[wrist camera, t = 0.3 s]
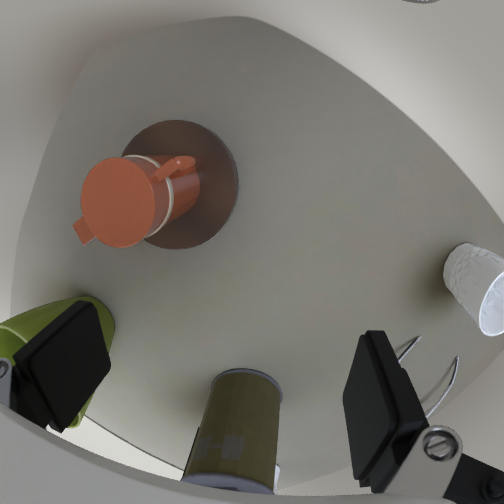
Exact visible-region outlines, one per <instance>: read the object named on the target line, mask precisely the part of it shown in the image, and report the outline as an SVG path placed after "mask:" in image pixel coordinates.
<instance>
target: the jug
mask: <svg viewBox="0 0 504 504" xmlns="http://www.w3.org/2000/svg"><path fill="white" fill-rule="evenodd" d="M203 163H204V159H203V157H201V156H177V155H149V156H143V155H129V156H125V157H115V158H108V159H105V160H103V161H101V162H99V163H98V164H97V165H96V166H94V167H93V168H92V170H91V171H90V172H89V174H88V175H87V177H86V179H85V181H84V184H83V187H82V192H81V208H82V213H83V216H82V217H81V218H80V219H79V220H78V221H77V222H75V223H74V224H73V228H74V230H75V231H76V233H77V235H78V237H79V239H80V240H81V242H82V244H83V245H84V246H85V245H87V244H89V243H91V242H92V241H93V240H95V239H96V238H97V239H99V240H100V241H101V242H103V243H105V244H106V245H109V246H112V247H117V248H125V247H130V246H133V245H135V244H136V243H138V242H140V241H141V240H143V239H144V238H146V237H149V236H151V235H153V234H155V233H156V232H157V231H159V230H160V229H161V228H162V227H163V226H165V225H167V224H168V223H170V222H171V221H173V220H175V219H176V218H178V217H180V216H181V215H183V214H185V213H186V212H188V211H189V210H190V209H191V208H192V207H193V206H194V204H195V203H196V201H197V199H198V196H199V192H200V180H199V176H198V173H197V171H196V169H197V168H199V167H201V166H202V165H203Z"/></svg>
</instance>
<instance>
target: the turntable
mask: <svg viewBox="0 0 504 504" xmlns="http://www.w3.org/2000/svg"><path fill="white" fill-rule="evenodd" d="M129 155H143V156H149V155H177V156H201V157H203V159H204V163H203V165H202V166H201V167H199V168H197V169H196V171H197V173H198V176H199V180H200V192H199V196H198V199H197V201H196V203H195V204H194V206H193V207H192V208H191V209H190V210H189V211H188V212H186V213H185V214H183V215H181V216H180V217H178V218H176V219H175V220H173V221H171V222H170V223H168V224H167V225H165V226H163V227H162V228H161V229H160V230H159V231H157V232H156V233H155V234H153V235H151V236H149V237H146V238H144V240H146V241H147V242H149V243H151V244H153V245H155V246H159V247H162V248H166V249H177V250H178V249H187V248H191V247H195V246H197V245H200V244H202V243H204V242H206V241H207V240H209V239H210V238H211V237H213V236H214V235H215V234H216V233H217V232H218V231H219V230H220V229H221V228H222V227H223V226H224V224H225V223H226V222H227V220H228V219H229V217H230V215H231V213H232V211H233V209H234V206H235V203H236V200H237V195H238V173H237V168H236V165H235V161H234V159H233V157H232V154H231V153H230V151H229V149H228V148H227V146H226V145H225V144H224V142H223V141H222V140H221V139H220V138H219V137H218V136H217V135H216V134H214V133H213V132H212V131H210V130H209V129H207V128H205V127H203V126H201V125H198V124H195V123H192V122H188V121H183V120H170V121H163V122H159V123H156V124H154V125H151V126H149V127H148V128H146V129H144V130H143V131H141V132H140V133H139V134H138V135H136V136H135V137H134V138H133V139H132V141H131V142H130V143H129V144H128V146H127V147H126V149H125V150H124V152H123V154H122V156H121V157H125V156H129Z"/></svg>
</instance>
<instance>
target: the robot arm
mask: <svg viewBox="0 0 504 504" xmlns="http://www.w3.org/2000/svg"><path fill="white" fill-rule="evenodd" d="M12 357H13V359H14V361H15V365H14V366H13V365H12V363H11V362H10V360H8V359H6V358H0V504H504V472H503V471H501V470H499V469H496V468H494V467H492V466H489V465H487V464H485V463H483V462H480V461H478V460H476V459H474V458H472V457H470V456H467V455H465V454H463V453H462V450H463V444H462V440H461V438H460V436H459V435H458V434H457V433H456V432H455V431H454V430H453V429H451V428H449V427H446V426H442V425H434V426H431V427H430V426H429V424H428V421H427V418H426V416H425V414H424V411H423V409H422V406H421V404H420V401H419V399H418V397H417V394H416V392H415V390H414V387H413V385H412V383H411V380H410V378H409V376H408V374H407V372H406V370H405V369H403V368H401V366H400V364H399V362H398V359H397V357H396V355H395V353H394V351H393V348H392V346H391V344H390V342H389V340H388V338H387V336H386V334H385V332H384V331H376V330H368V331H366V333H365V335H361V336H360V338H359V341H358V345H357V349H356V352H355V356H354V359H353V363H352V366H351V370H350V373H349V376H348V380H347V383H346V386H345V389H344V392H343V406H344V412H345V418H346V425H347V431H348V438H349V445H350V452H351V460H352V468H353V475H354V479H355V480H359V483H360V487H369V486H371V492H372V493H374V494H361V495H338V496H286V495H268V494H256V493H246V492H238V491H230V490H224V489H217V488H211V487H206V486H201V485H196V484H191V483H186V482H182V481H178V480H174V479H169V478H166V477H162V476H158V475H155V474H151V473H148V472H145V471H141V470H138V469H135V468H132V467H129V466H126V465H123V464H121V463H118V462H115V461H113V460H110V459H107V458H104V457H102V456H100V455H97V454H95V453H93V452H90V451H88V450H85V449H83V448H81V447H79V446H76V445H74V444H72V443H70V442H68V441H66V440H64V439H62V438H60V437H58V436H56V435H54V434H52V433H50V432H48V431H47V429H46V426H47V425H48V424H49V426H50V427H51V428H52V429H54V430H55V431H57V432H59V433H62V432H63V431H64V429H65V428H67V427H69V426H70V425H71V423H72V422H73V420H74V419H75V418H76V416H77V415H78V413H79V412H80V411H81V409H82V408H83V406H84V405H85V404H86V402H87V401H88V399H89V398H90V397H91V395H92V394H93V392H94V391H95V390H96V388H97V387H98V386H99V384H100V383H101V382H102V380H103V379H104V377H105V376H106V375H107V373H108V372H109V371H110V368H111V361H110V358H109V354H108V351H107V347H106V343H105V340H104V336H103V332H102V328H101V324H100V319H99V315H98V311H97V308H96V307H95V306H94V304H93V303H92V302H89V301H84V300H77V301H76V302H75V303H73V304H72V305H71V306H70V307H68V308H67V309H66V310H65V311H64V312H62V313H61V314H60V315H59V316H58V317H56V318H55V319H54V320H53V321H52V322H50V323H49V324H48V325H47V326H46V327H44V328H43V329H42V330H41V331H40V332H39V333H37V334H36V335H35V336H34V337H33V338H32V339H31V340H29V341H28V342H27V343H26V344H25V345H24V346H23V347H22V348H20V349H19V350H18V351H17V352H16V353H15V354H14V355H13V356H12Z"/></svg>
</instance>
